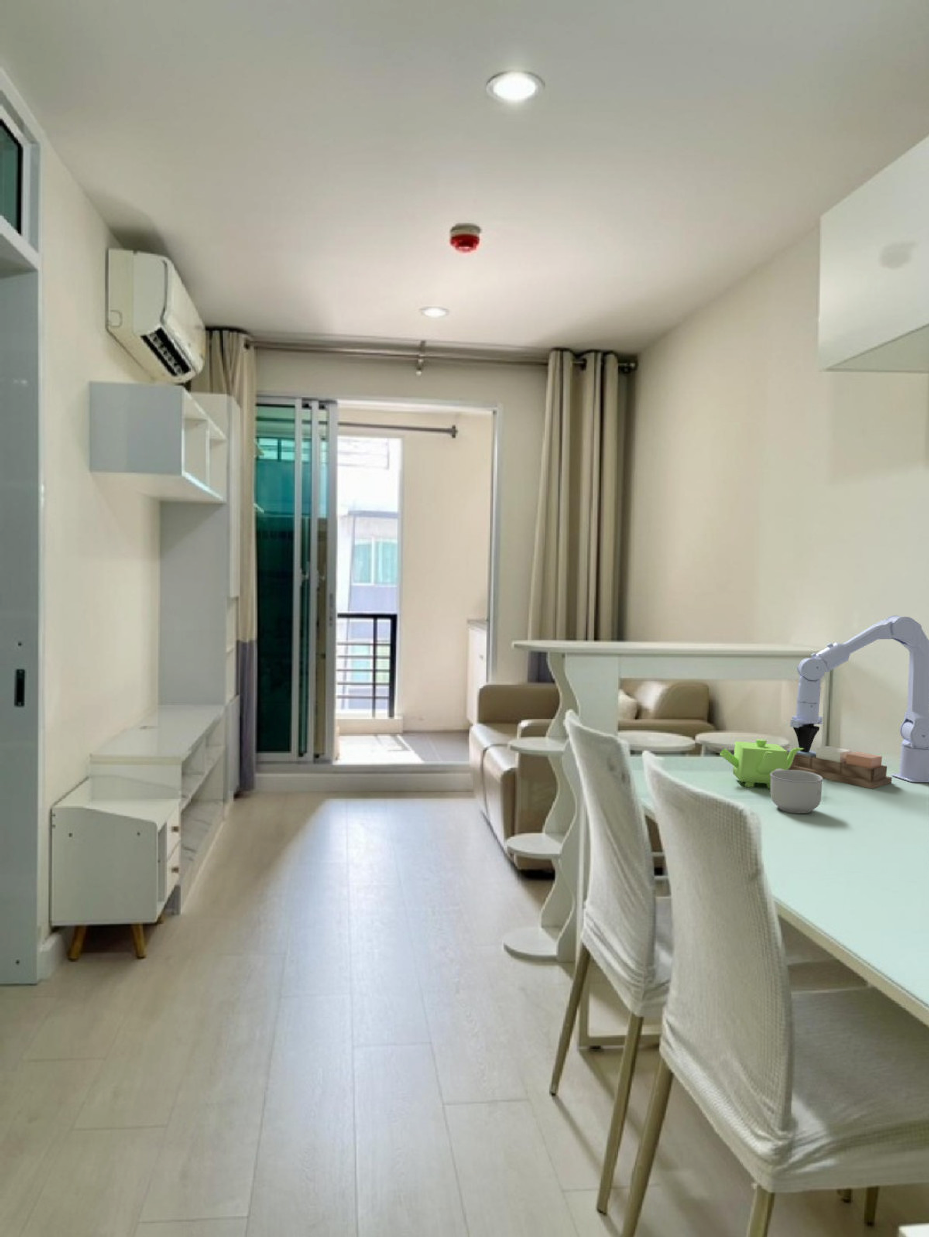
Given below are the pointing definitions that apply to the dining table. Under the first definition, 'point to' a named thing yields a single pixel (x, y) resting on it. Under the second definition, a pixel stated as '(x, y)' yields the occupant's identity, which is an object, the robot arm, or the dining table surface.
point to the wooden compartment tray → (842, 771)
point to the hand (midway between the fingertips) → (804, 751)
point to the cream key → (832, 754)
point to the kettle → (758, 761)
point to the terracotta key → (864, 760)
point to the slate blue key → (806, 753)
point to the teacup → (796, 790)
